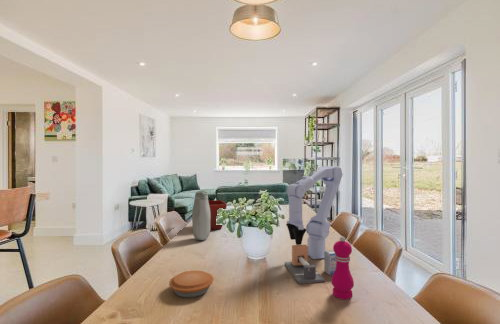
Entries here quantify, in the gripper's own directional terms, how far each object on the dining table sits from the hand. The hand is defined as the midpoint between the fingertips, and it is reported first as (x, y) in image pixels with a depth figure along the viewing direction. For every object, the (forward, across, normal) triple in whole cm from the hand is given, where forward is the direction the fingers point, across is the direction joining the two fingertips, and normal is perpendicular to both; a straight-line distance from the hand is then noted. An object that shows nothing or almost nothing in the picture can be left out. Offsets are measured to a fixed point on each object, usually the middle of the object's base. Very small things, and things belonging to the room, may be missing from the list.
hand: (295, 241), depth 124 cm
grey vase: (+10, -44, -41) cm, 61 cm away
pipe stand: (+9, +10, 0) cm, 14 cm away
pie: (+10, +17, -44) cm, 49 cm away
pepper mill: (+10, +30, +6) cm, 32 cm away
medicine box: (+10, +12, +13) cm, 20 cm away
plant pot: (+10, -69, -36) cm, 79 cm away
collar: (+7, +6, 0) cm, 10 cm away
